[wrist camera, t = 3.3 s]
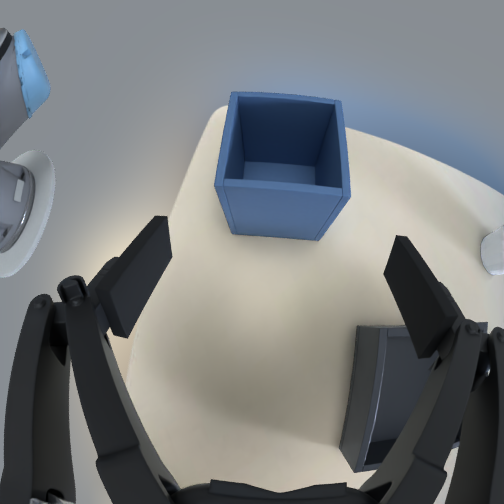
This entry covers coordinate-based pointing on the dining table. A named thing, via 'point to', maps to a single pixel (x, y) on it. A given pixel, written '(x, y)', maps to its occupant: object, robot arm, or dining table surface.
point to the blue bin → (282, 165)
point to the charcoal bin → (383, 393)
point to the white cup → (493, 252)
